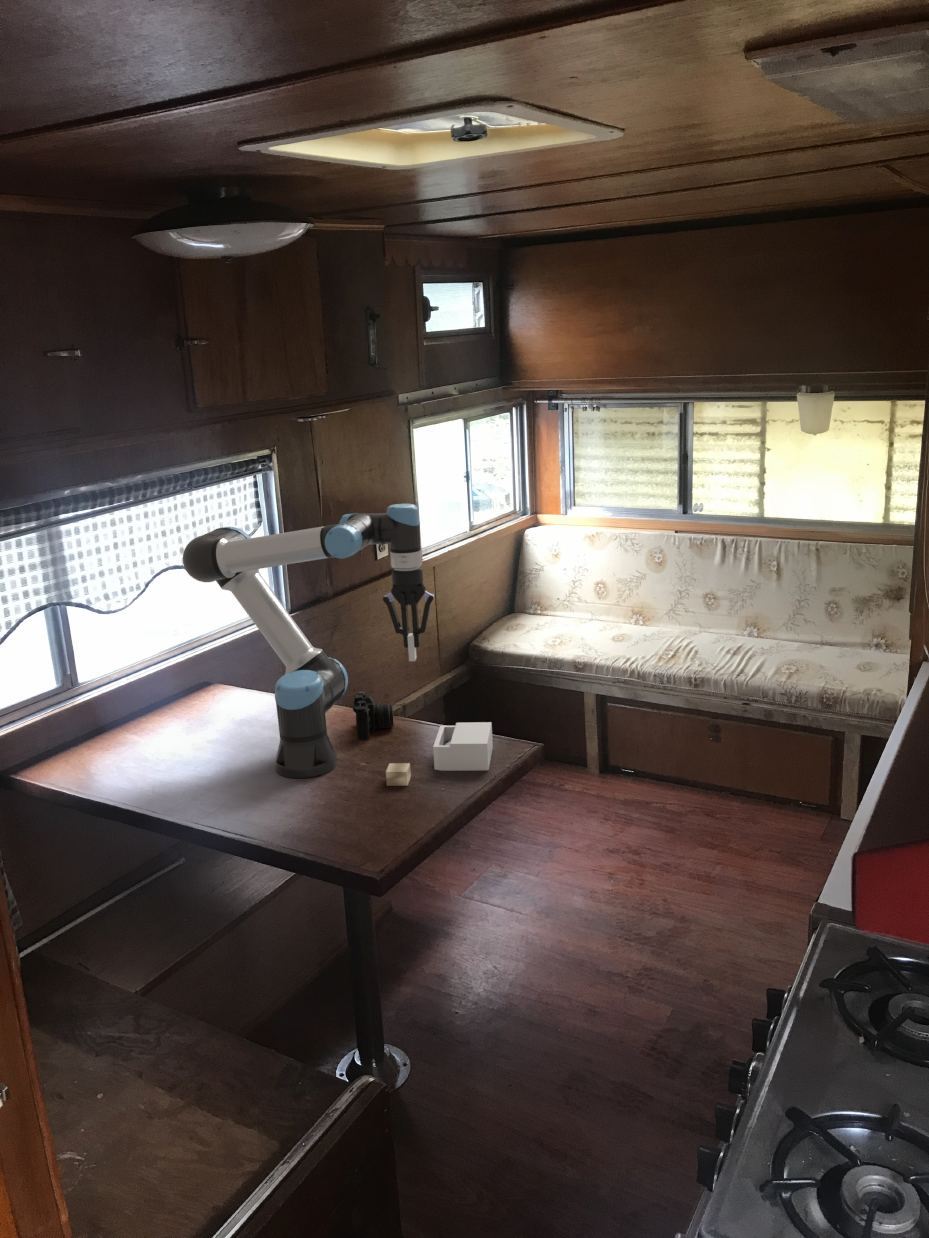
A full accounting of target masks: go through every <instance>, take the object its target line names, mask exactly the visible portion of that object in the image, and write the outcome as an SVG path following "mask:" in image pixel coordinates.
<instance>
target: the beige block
mask: <svg viewBox="0 0 929 1238" xmlns="http://www.w3.org/2000/svg"><path fill="white" fill-rule="evenodd" d="M411 777H412V773H411V763H410V762H408V763H407V762H401V763H400V762H397V763H393V762H392V763H390V762H389V763H388V766H387V768H386V770H385V778H386V786H390V787H391V786H393V787H395V786H396V787H397V786H398V787H399V786H401V787H402V786H404V787H405V786H406V787H407V786H409V783H410V782H411V781H410V780H411Z"/></svg>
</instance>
